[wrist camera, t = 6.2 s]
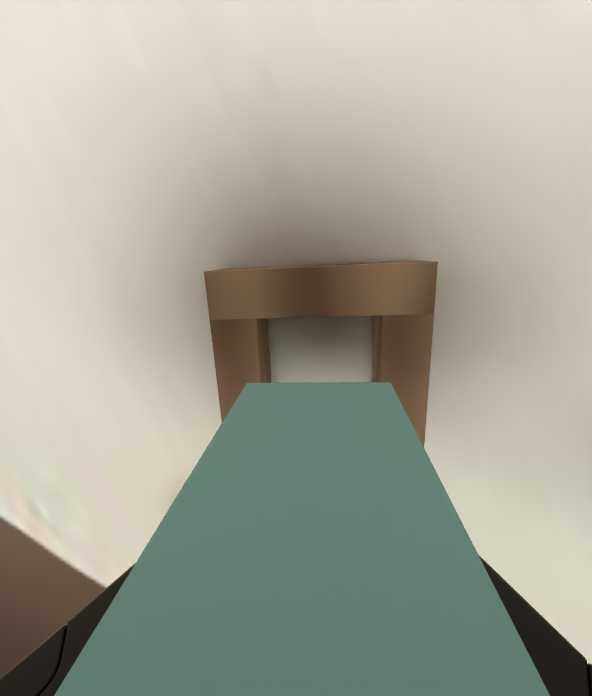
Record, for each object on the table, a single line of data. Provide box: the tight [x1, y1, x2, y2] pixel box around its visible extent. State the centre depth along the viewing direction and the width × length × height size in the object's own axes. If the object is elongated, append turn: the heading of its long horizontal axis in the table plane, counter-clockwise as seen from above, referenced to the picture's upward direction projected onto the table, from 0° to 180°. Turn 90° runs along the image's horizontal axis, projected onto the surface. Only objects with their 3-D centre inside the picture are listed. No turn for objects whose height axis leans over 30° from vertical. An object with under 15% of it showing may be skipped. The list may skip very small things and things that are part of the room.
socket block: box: [204, 261, 438, 447], centre depth 19 cm, size 12×12×3 cm
